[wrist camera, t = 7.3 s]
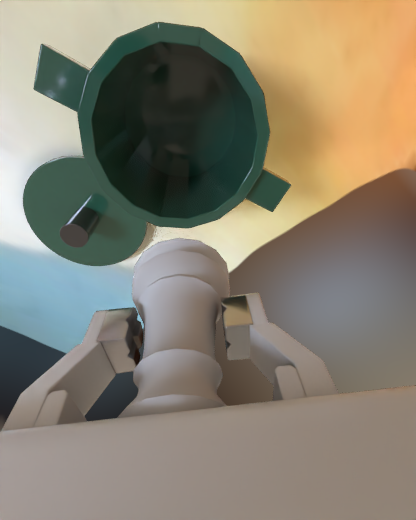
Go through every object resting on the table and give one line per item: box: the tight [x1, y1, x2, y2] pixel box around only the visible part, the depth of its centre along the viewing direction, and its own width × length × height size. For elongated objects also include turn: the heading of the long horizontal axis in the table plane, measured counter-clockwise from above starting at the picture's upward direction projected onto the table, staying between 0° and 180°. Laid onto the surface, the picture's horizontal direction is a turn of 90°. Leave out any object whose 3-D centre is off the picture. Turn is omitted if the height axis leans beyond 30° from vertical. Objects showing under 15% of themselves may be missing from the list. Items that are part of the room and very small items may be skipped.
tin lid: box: [23, 156, 147, 266], centre depth 28 cm, size 13×13×5 cm
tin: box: [34, 22, 291, 228], centre depth 22 cm, size 12×17×10 cm
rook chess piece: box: [118, 238, 230, 418], centre depth 10 cm, size 4×4×8 cm
